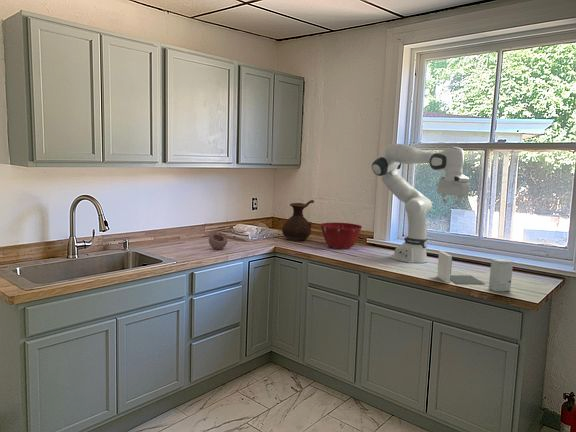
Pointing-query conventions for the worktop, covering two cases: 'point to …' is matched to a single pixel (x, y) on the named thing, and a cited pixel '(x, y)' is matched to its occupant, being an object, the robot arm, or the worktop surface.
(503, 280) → the skincare box
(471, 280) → the mat
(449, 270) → the tile
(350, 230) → the mixing bowl
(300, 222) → the jug
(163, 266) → the worktop surface
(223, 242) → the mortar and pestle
